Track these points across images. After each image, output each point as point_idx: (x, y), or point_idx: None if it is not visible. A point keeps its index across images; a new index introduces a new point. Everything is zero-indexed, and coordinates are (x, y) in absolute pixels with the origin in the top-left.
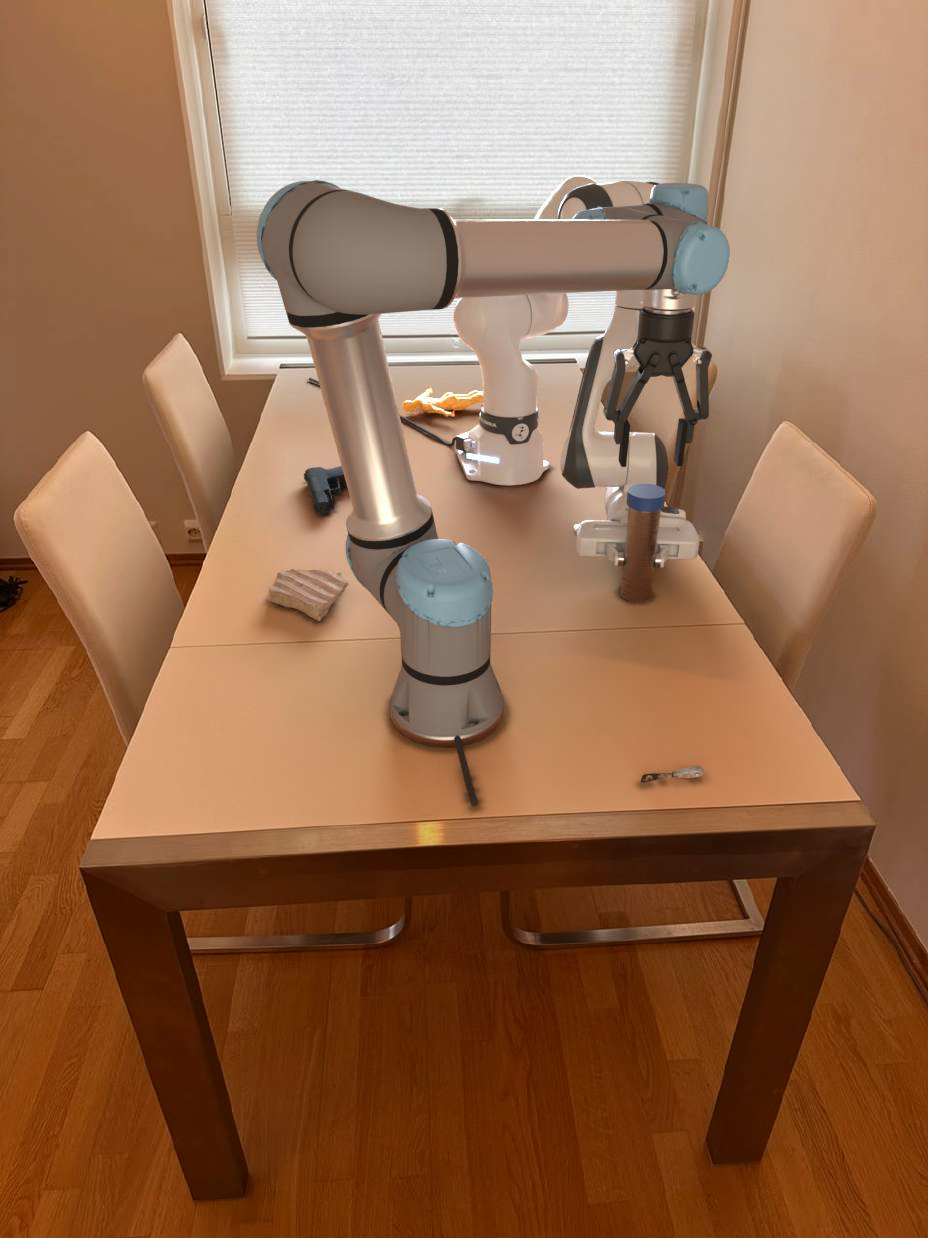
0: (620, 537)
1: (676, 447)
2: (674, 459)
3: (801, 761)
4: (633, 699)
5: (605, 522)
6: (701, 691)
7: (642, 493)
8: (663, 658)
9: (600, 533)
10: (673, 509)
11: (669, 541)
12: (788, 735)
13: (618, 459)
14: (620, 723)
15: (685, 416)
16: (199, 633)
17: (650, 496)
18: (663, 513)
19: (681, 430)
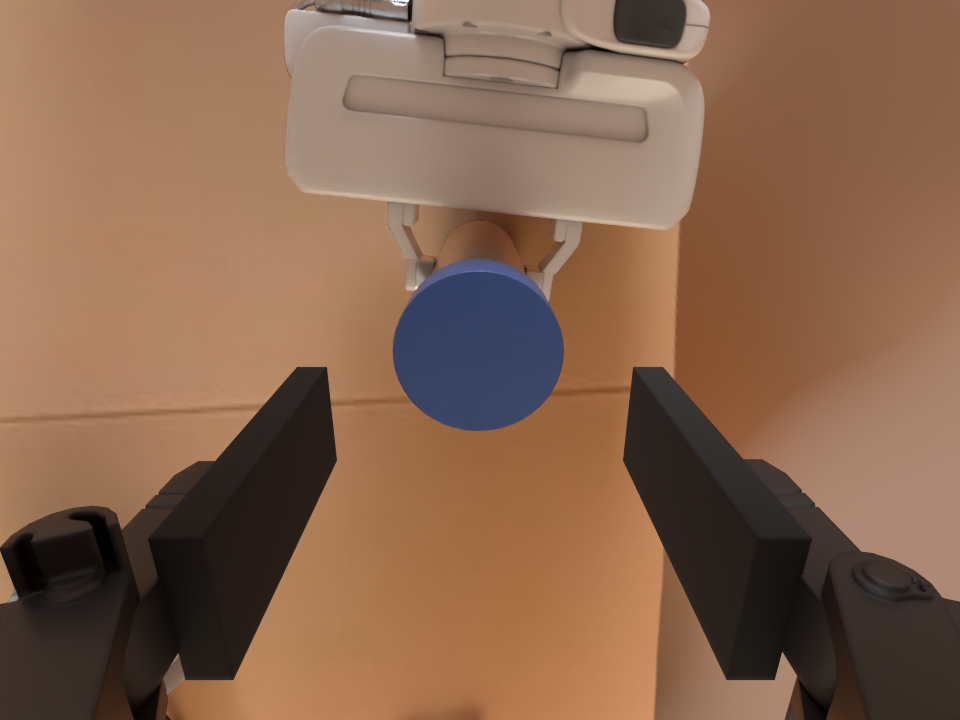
0: (429, 193)
1: (656, 440)
2: (632, 391)
3: (623, 704)
4: (416, 593)
5: (390, 60)
6: (533, 578)
7: (454, 381)
8: (490, 495)
9: (364, 159)
10: (666, 7)
11: (587, 220)
12: (629, 664)
13: (295, 370)
14: (389, 639)
15: (820, 628)
16: None
17: (483, 409)
18: (614, 48)
19: (705, 610)
